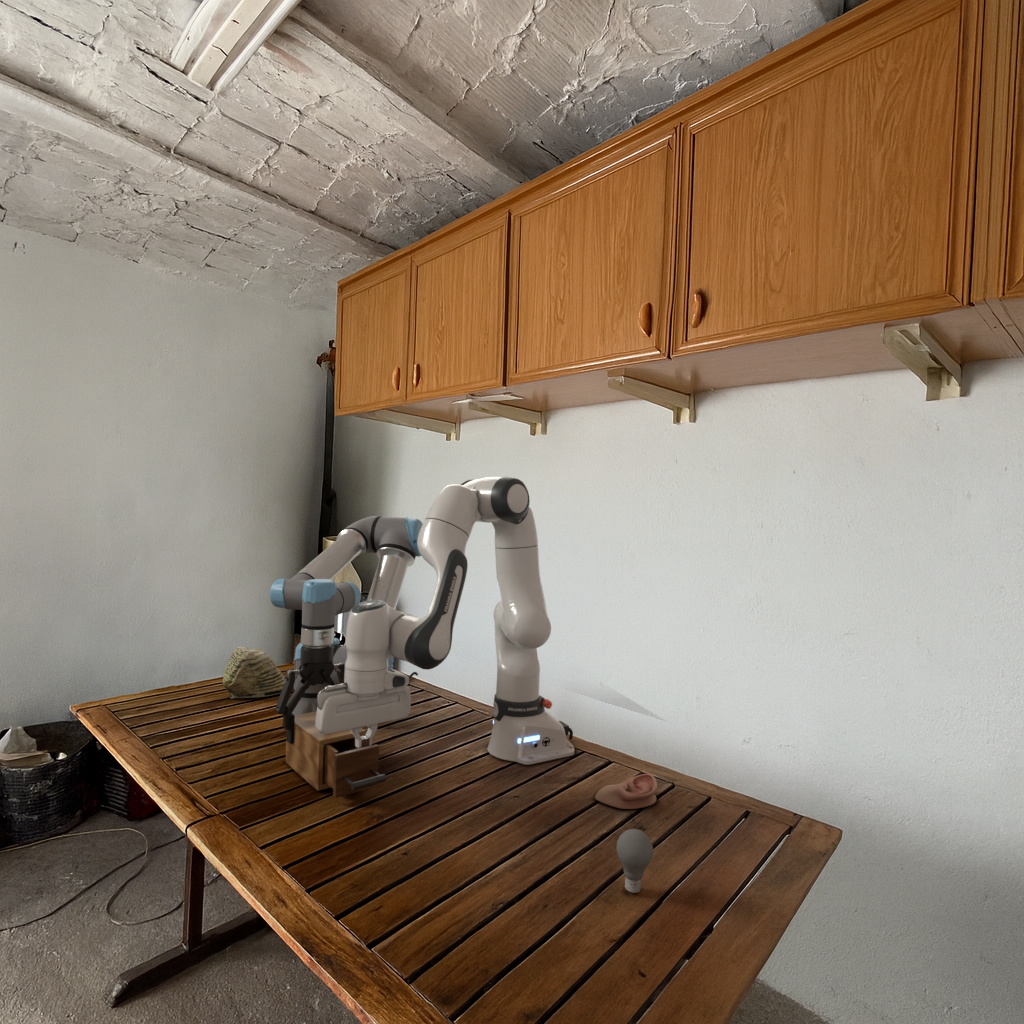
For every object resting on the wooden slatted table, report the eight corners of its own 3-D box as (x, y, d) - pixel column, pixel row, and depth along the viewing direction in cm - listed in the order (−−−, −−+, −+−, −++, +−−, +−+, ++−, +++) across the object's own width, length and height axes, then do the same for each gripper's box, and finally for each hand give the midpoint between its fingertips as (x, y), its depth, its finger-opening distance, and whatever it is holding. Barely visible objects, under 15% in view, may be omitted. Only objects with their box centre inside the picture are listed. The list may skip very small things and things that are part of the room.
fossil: (218, 695, 195) (220, 647, 195) (278, 685, 208) (279, 640, 207) (228, 703, 189) (230, 653, 188) (289, 692, 201) (290, 645, 201)
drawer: (391, 795, 132) (392, 753, 132) (347, 808, 126) (348, 764, 126) (342, 760, 150) (343, 723, 150) (302, 769, 144) (303, 731, 144)
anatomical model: (594, 786, 135) (598, 765, 146) (593, 805, 135) (597, 782, 146) (658, 795, 132) (657, 772, 143) (657, 814, 132) (656, 790, 143)
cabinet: (364, 778, 142) (365, 730, 142) (317, 791, 135) (319, 740, 135) (329, 752, 157) (330, 708, 157) (285, 762, 150) (286, 717, 150)
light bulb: (610, 879, 108) (613, 822, 108) (644, 879, 109) (647, 822, 109) (619, 902, 102) (622, 840, 102) (655, 901, 103) (658, 840, 103)
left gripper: (273, 654, 140) (270, 752, 140) (369, 642, 155) (366, 731, 155) (261, 647, 146) (258, 742, 146) (355, 636, 161) (352, 722, 161)
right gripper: (324, 691, 122) (321, 762, 122) (415, 676, 135) (413, 740, 135) (311, 683, 127) (308, 752, 127) (401, 669, 140) (398, 731, 140)
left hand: (314, 736), depth 151 cm, fingers closed on cabinet, 11 cm apart
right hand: (363, 746), depth 131 cm, fingers closed
